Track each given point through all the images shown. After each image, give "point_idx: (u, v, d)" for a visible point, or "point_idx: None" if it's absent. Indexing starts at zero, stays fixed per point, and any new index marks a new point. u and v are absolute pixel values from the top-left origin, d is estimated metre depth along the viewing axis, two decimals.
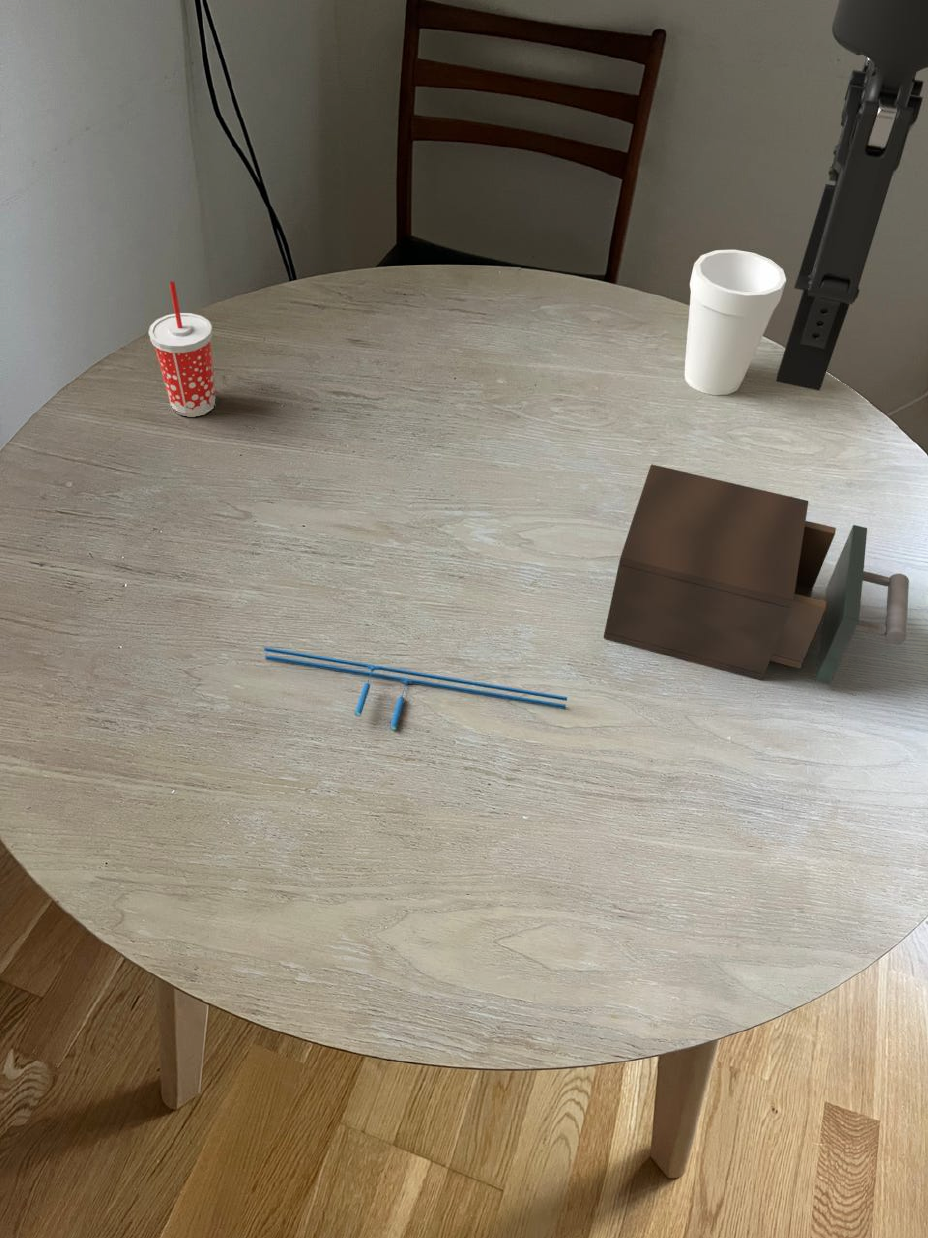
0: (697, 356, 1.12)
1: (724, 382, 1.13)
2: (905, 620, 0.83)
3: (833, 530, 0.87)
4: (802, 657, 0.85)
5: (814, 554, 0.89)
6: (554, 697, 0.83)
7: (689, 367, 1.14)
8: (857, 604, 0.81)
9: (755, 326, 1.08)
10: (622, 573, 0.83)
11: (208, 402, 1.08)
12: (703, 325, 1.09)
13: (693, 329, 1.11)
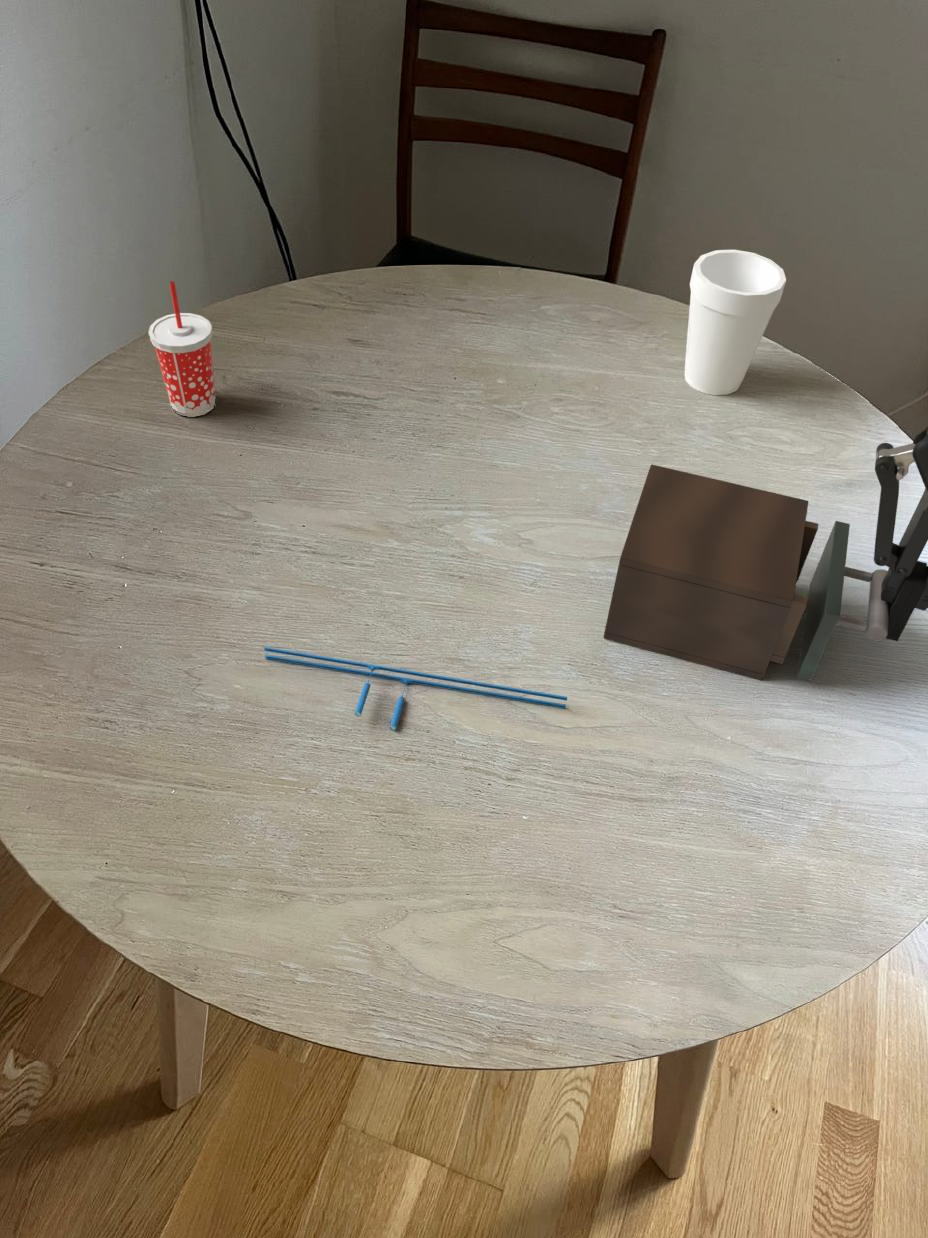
0: (697, 356, 1.12)
1: (724, 382, 1.13)
2: (887, 615, 0.84)
3: (816, 526, 0.87)
4: (785, 652, 0.85)
5: None
6: (554, 697, 0.83)
7: (689, 367, 1.14)
8: (838, 599, 0.81)
9: (755, 326, 1.08)
10: (622, 573, 0.83)
11: (208, 402, 1.08)
12: (703, 325, 1.09)
13: (693, 329, 1.11)
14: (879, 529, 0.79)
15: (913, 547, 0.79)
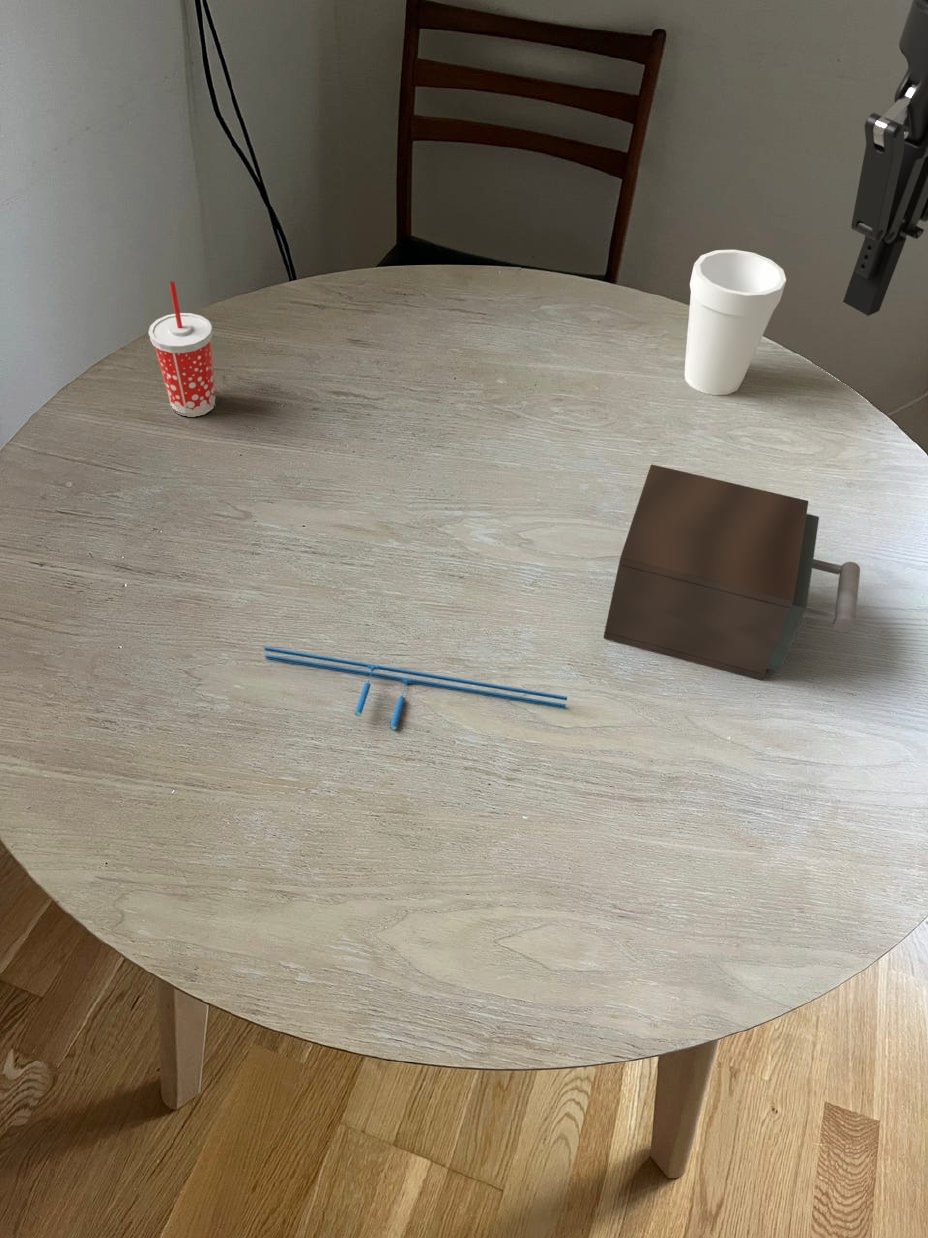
0: (697, 356, 1.12)
1: (724, 382, 1.13)
2: (854, 607, 0.84)
3: None
4: None
5: None
6: (554, 697, 0.83)
7: (689, 367, 1.14)
8: (805, 591, 0.82)
9: (755, 326, 1.08)
10: (622, 573, 0.83)
11: (208, 402, 1.08)
12: (703, 325, 1.09)
13: (693, 329, 1.11)
14: (884, 202, 0.79)
15: (903, 204, 0.80)
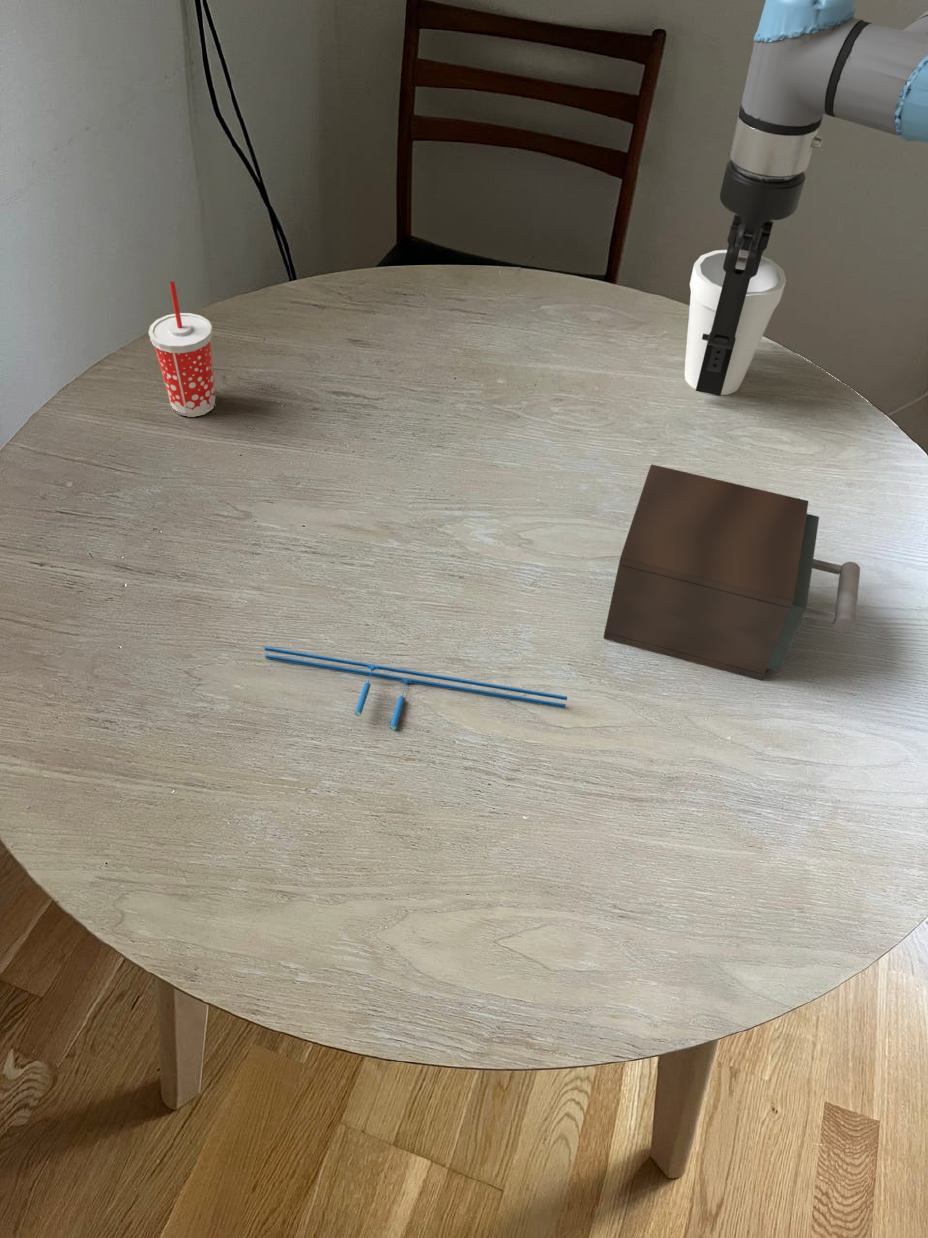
0: (697, 356, 1.12)
1: (724, 382, 1.13)
2: (854, 607, 0.84)
3: None
4: None
5: None
6: (554, 696, 0.83)
7: (689, 367, 1.14)
8: (805, 591, 0.82)
9: (755, 326, 1.08)
10: (622, 573, 0.83)
11: (208, 402, 1.08)
12: (703, 326, 1.09)
13: (693, 329, 1.11)
14: (740, 314, 1.03)
15: None
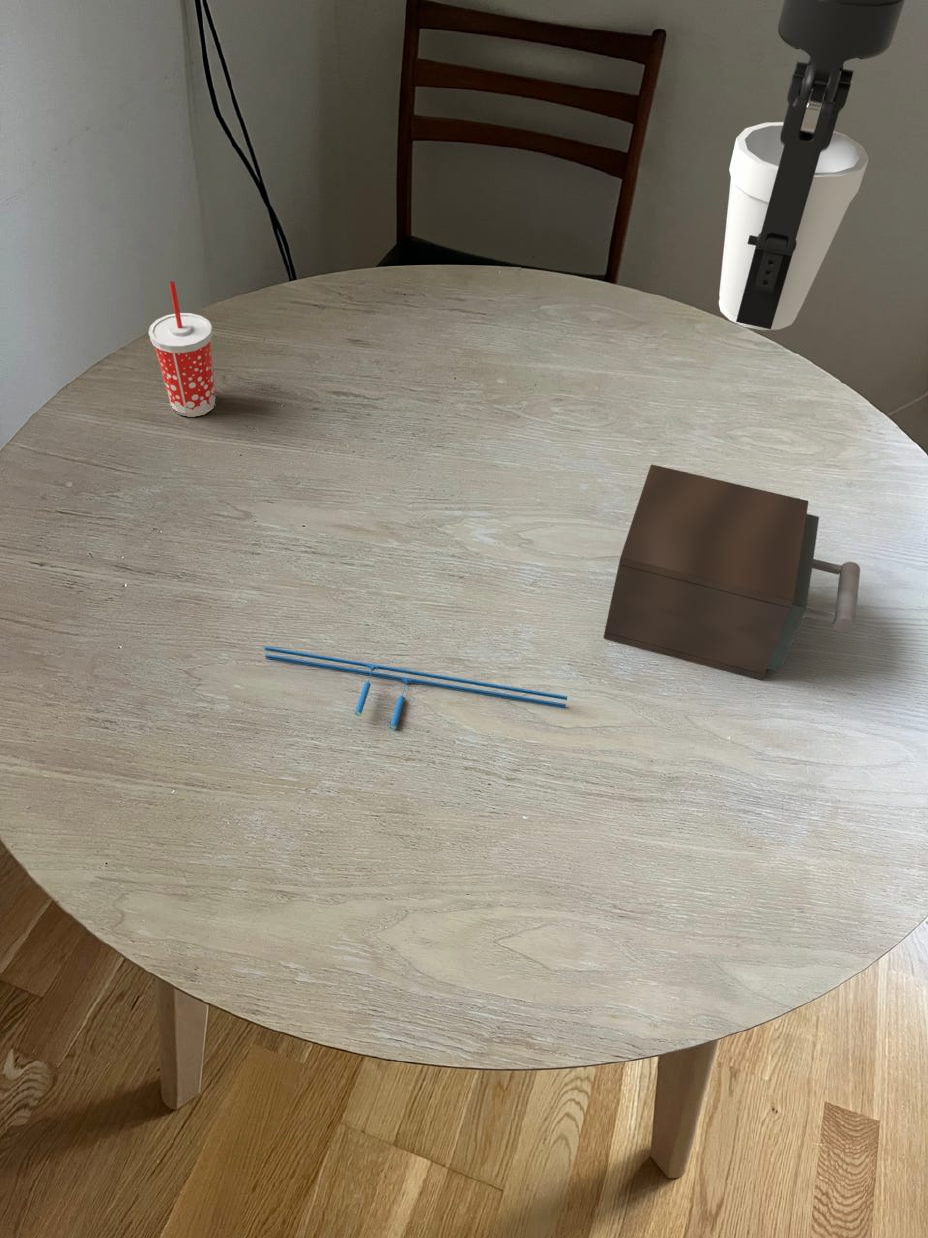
0: (738, 273, 0.80)
1: None
2: (854, 607, 0.84)
3: None
4: None
5: None
6: (554, 696, 0.83)
7: (726, 291, 0.83)
8: (805, 591, 0.82)
9: (823, 226, 0.76)
10: (622, 573, 0.83)
11: (208, 402, 1.08)
12: (749, 226, 0.77)
13: (733, 234, 0.79)
14: None
15: None
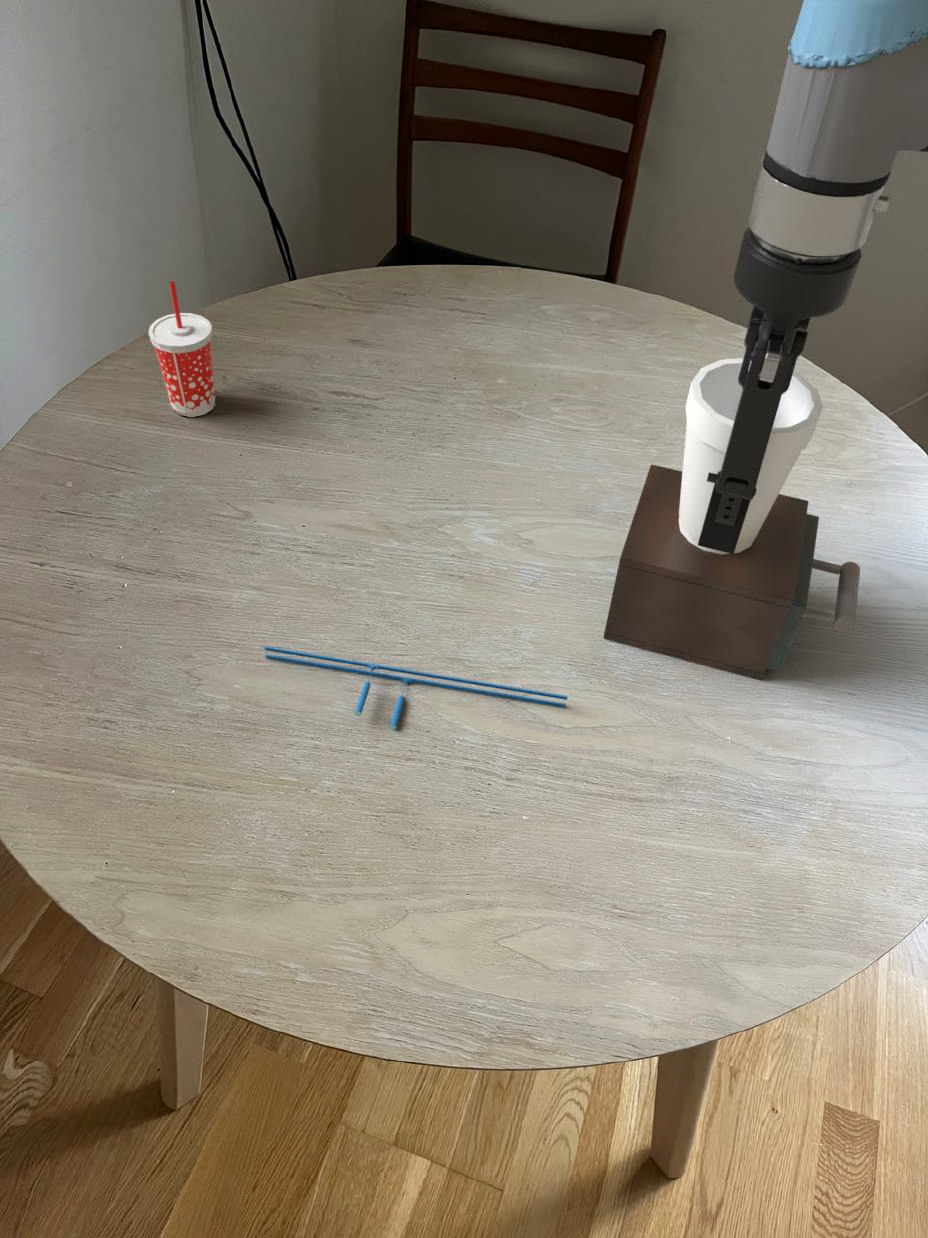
0: (696, 505, 0.80)
1: None
2: (854, 607, 0.84)
3: None
4: None
5: None
6: (554, 696, 0.83)
7: (685, 516, 0.83)
8: (805, 591, 0.82)
9: (778, 471, 0.76)
10: (622, 573, 0.83)
11: (208, 402, 1.08)
12: (705, 468, 0.77)
13: (690, 470, 0.79)
14: None
15: None
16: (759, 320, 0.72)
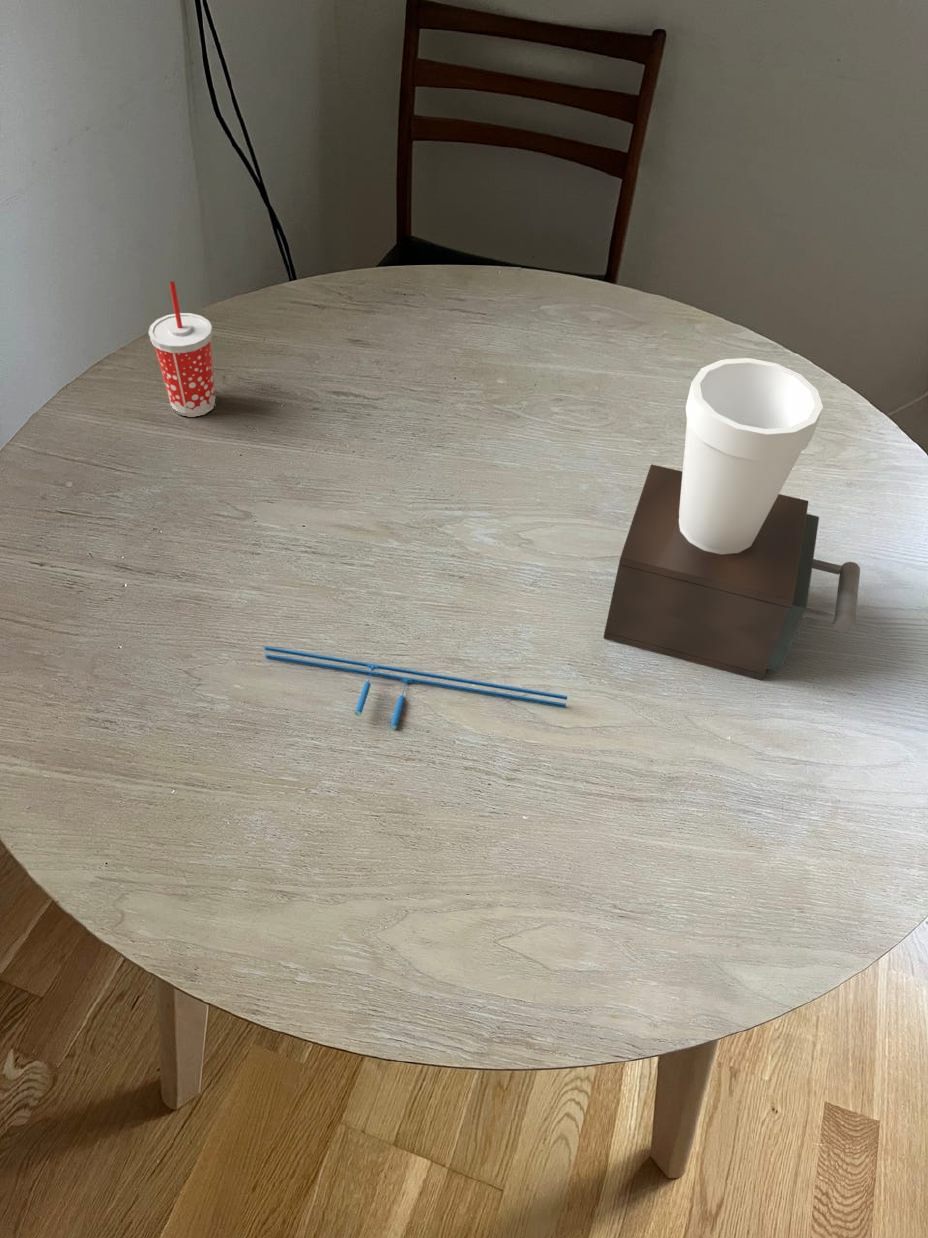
0: (696, 505, 0.80)
1: (733, 539, 0.81)
2: (854, 607, 0.84)
3: None
4: None
5: None
6: (554, 696, 0.83)
7: (685, 516, 0.83)
8: (805, 591, 0.82)
9: (778, 471, 0.76)
10: (622, 573, 0.83)
11: (208, 402, 1.08)
12: (705, 468, 0.77)
13: (690, 470, 0.79)
14: None
15: None
16: None
